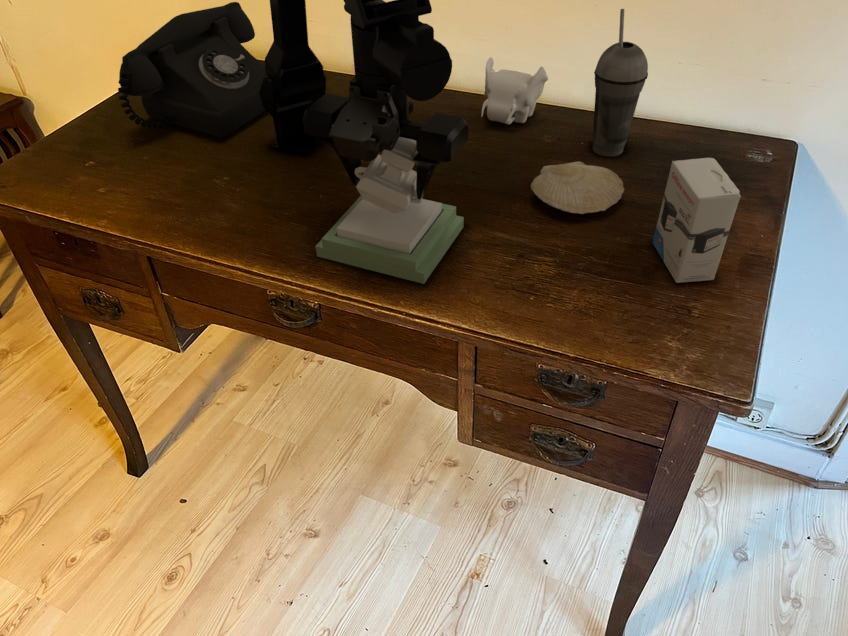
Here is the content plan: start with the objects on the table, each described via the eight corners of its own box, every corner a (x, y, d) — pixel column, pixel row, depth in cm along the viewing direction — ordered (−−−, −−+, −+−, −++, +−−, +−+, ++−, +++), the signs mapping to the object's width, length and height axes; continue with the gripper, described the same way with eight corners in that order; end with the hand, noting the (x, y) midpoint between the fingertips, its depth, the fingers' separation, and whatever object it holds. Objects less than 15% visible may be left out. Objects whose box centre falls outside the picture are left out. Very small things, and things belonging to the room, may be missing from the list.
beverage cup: (633, 162, 107) (662, 20, 93) (582, 159, 108) (603, 18, 94) (632, 138, 112) (659, 0, 98) (583, 135, 113) (603, -2, 99)
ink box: (650, 242, 93) (670, 158, 84) (688, 239, 93) (712, 155, 85) (674, 284, 87) (698, 198, 78) (715, 281, 87) (743, 194, 79)
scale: (316, 256, 94) (313, 237, 92) (363, 204, 102) (361, 185, 100) (424, 284, 89) (423, 264, 87) (463, 227, 97) (464, 207, 95)
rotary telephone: (235, 69, 137) (218, -17, 126) (310, 87, 130) (298, -2, 119) (111, 140, 119) (79, 46, 108) (190, 165, 112) (164, 68, 101)
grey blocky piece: (422, 199, 94) (446, 146, 87) (409, 229, 89) (433, 175, 83) (358, 170, 93) (377, 114, 87) (341, 198, 89) (360, 141, 82)
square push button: (337, 238, 92) (336, 227, 91) (373, 197, 98) (372, 187, 97) (409, 255, 89) (409, 245, 88) (441, 213, 95) (441, 202, 94)
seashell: (596, 233, 95) (599, 214, 93) (515, 206, 100) (517, 187, 98) (631, 192, 101) (635, 173, 99) (554, 169, 106) (556, 151, 104)
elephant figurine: (465, 128, 116) (466, 73, 110) (497, 98, 123) (500, 44, 117) (521, 141, 113) (525, 85, 106) (550, 109, 120) (556, 54, 114)
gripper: (267, 82, 77) (289, 209, 88) (429, 111, 71) (431, 243, 82) (319, 42, 84) (333, 164, 95) (471, 65, 78) (468, 193, 89)
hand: (388, 190), depth 90 cm, fingers closed on grey blocky piece, 8 cm apart
